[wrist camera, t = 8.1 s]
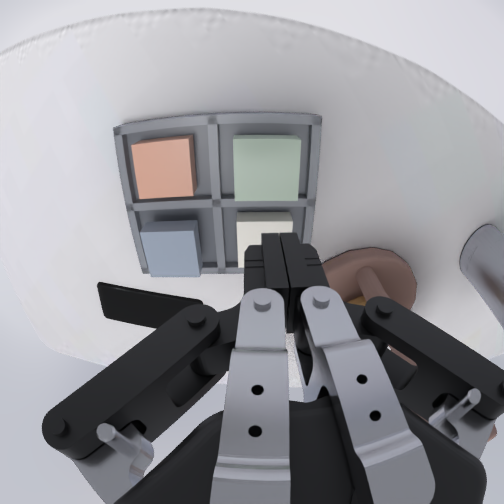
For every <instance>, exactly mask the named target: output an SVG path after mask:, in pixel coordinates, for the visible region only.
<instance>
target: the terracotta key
mask: <svg viewBox="0 0 504 504" xmlns="http://www.w3.org/2000/svg"><path fill="white" fill-rule="evenodd" d="M131 147H132V155H133V162H134V169H135V175H136V181H137V187H138V193H139V199H150V198H165V197H183V196H194V193H195V191H196V189H197V180H196V168H195V155H194V141H193V135H184V136H173V137H164V138H155V139H147V140H140V141H138V142H136V143H134V144H132V145H131Z"/></svg>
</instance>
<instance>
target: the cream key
mask: <svg viewBox="0 0 504 504" xmlns="http://www.w3.org/2000/svg"><path fill="white" fill-rule="evenodd" d="M292 229H293V220H292V217H291V214H290V212H237V247H238V268H244V252H245V250H246V249H247V248H248V246H249V245H261V233H284V232H292Z"/></svg>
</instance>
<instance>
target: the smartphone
mask: <svg viewBox="0 0 504 504" xmlns="http://www.w3.org/2000/svg"><path fill="white" fill-rule="evenodd" d="M97 288H98V292H99V297H100V301H101V305H102V310H103V313H104V316H105V317H106V318H109V319H113V320H117V321H122V322H126V323H131V324H136V325H140V326H145V327H151V328H156V329H158V328H159V327H160V326H161V325H163V324H164V323H165V322H167V321H168V320H169V319H171V318H172V317H173V316H175V315H176V314H177V313H178V312H180V311H181V310H182V309H184V308H186V307H188V306H191V305H195V304H203V302H202V301H201V300H198V299H192V298H186V297H179V296H173V295H167V294H161V293H156V292H150V291H144V290H139V289H134V288H128V287H123V286H118V285H113V284H108V283H103V282H99V283H98V284H97ZM176 297H177V298H176Z"/></svg>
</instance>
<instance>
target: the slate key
mask: <svg viewBox="0 0 504 504" xmlns="http://www.w3.org/2000/svg"><path fill="white" fill-rule="evenodd" d="M140 236H141V240H142V244H143V248H144V252H145V256H146V260H147V264H148V268H149V272H150V275H151V277H200V275H201V270H202V266H203V263H202V255H201V247H200V239H199V231H198V222H197V220H185V221H159V222H146V224H145V225H144V227H143V228H142V230H141V231H140Z"/></svg>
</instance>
